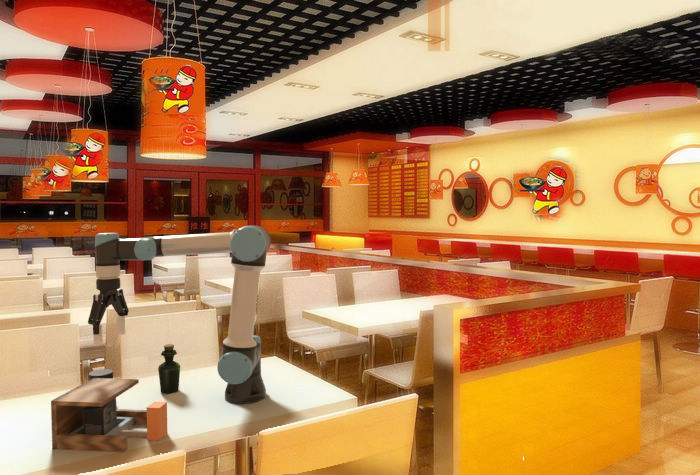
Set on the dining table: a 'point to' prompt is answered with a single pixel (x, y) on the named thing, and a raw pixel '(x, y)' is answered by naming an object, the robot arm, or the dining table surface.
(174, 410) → the dining table surface
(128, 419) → the grey and orange frame
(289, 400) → the dining table surface
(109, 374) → the jar
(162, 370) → the potion bottle
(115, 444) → the shelf lane
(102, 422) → the small box
